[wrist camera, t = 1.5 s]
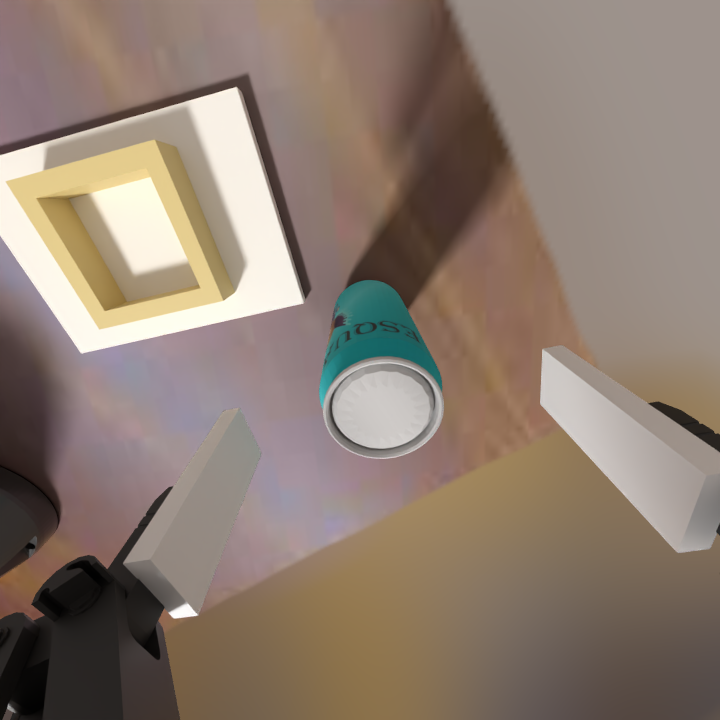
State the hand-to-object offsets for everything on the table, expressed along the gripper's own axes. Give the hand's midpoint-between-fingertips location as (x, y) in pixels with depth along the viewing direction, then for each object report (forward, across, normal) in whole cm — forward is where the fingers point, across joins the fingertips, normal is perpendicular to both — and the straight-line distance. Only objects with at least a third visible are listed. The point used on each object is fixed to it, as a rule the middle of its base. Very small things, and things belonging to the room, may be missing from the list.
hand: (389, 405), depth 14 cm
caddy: (+14, -16, +9) cm, 23 cm away
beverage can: (+15, 0, 0) cm, 15 cm away
